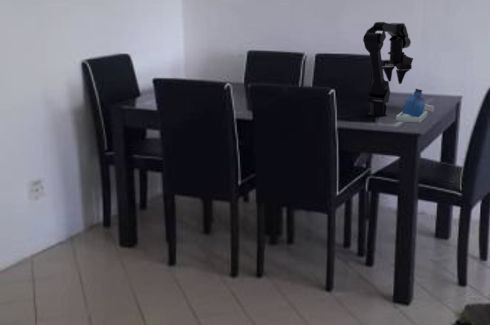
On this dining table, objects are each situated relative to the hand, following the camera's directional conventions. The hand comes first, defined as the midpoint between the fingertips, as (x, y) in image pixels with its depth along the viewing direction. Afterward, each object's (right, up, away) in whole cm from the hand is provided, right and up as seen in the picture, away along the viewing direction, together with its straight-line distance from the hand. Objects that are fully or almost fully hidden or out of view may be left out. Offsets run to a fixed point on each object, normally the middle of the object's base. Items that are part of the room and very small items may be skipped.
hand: (394, 82), depth 314 cm
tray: (+3, -19, -19) cm, 27 cm away
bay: (+11, -14, -3) cm, 18 cm away
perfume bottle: (+3, -17, -19) cm, 26 cm away
